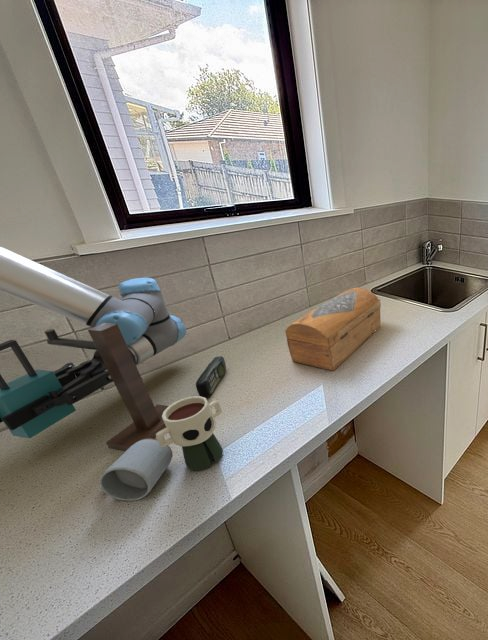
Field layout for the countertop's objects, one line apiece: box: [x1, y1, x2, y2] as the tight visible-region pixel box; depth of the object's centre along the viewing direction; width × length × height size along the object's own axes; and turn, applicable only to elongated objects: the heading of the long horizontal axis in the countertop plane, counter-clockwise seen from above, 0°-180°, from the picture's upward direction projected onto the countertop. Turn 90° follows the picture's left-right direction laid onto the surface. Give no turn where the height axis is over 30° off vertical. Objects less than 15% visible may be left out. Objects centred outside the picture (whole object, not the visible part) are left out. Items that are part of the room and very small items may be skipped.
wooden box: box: [285, 287, 381, 371], centre depth 106 cm, size 30×16×14 cm, turn 159°
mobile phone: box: [195, 356, 227, 399], centre depth 88 cm, size 5×3×15 cm
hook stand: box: [43, 323, 169, 452], centre depth 69 cm, size 18×12×26 cm
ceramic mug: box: [98, 438, 174, 502], centre depth 60 cm, size 11×8×8 cm
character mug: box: [155, 395, 224, 471], centre depth 64 cm, size 11×7×13 cm, turn 149°
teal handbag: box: [0, 339, 77, 439], centre depth 63 cm, size 4×8×18 cm, turn 170°
